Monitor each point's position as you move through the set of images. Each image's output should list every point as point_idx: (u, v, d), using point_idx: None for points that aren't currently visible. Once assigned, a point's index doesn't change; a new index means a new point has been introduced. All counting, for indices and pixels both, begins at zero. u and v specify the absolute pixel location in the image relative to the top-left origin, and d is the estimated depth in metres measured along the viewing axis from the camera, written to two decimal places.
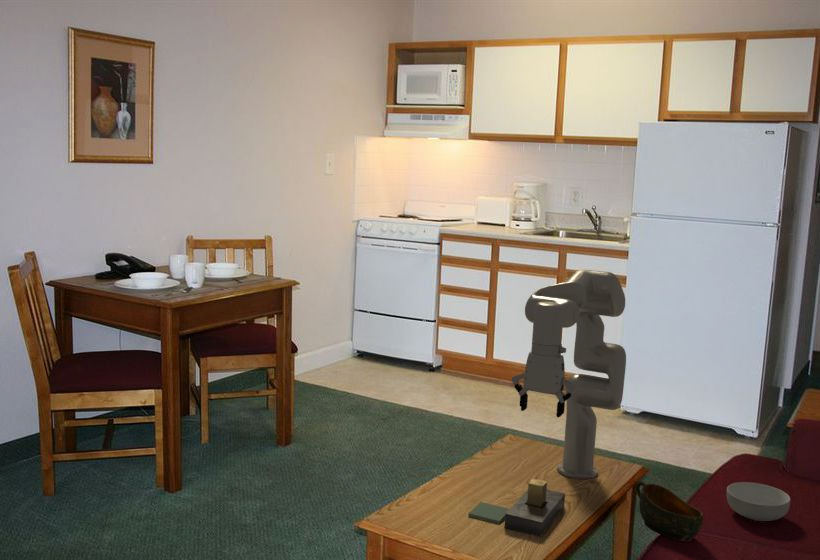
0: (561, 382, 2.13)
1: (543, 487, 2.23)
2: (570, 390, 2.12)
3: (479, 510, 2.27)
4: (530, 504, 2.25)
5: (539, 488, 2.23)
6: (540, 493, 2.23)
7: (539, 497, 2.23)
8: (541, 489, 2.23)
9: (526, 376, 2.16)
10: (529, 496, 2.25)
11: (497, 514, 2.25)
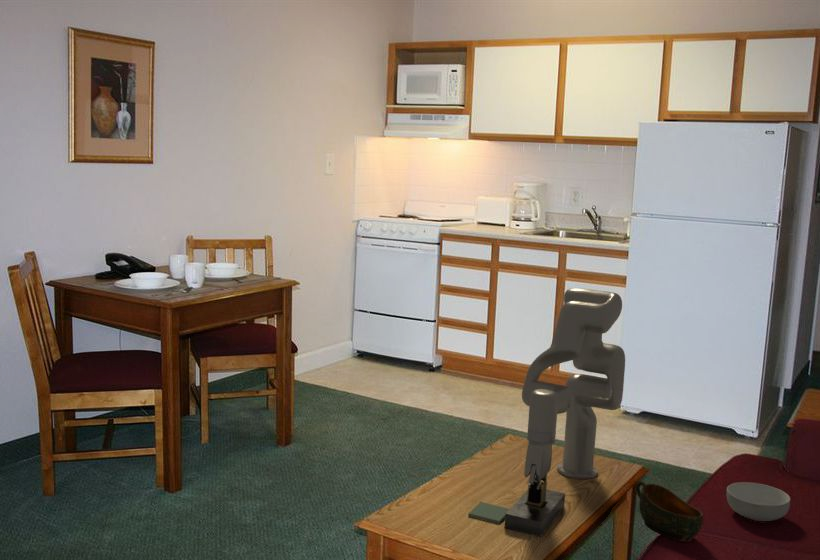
0: None
1: (543, 487, 2.23)
2: None
3: (479, 510, 2.27)
4: (530, 504, 2.25)
5: None
6: None
7: None
8: (541, 489, 2.23)
9: (542, 467, 2.20)
10: None
11: (497, 514, 2.25)
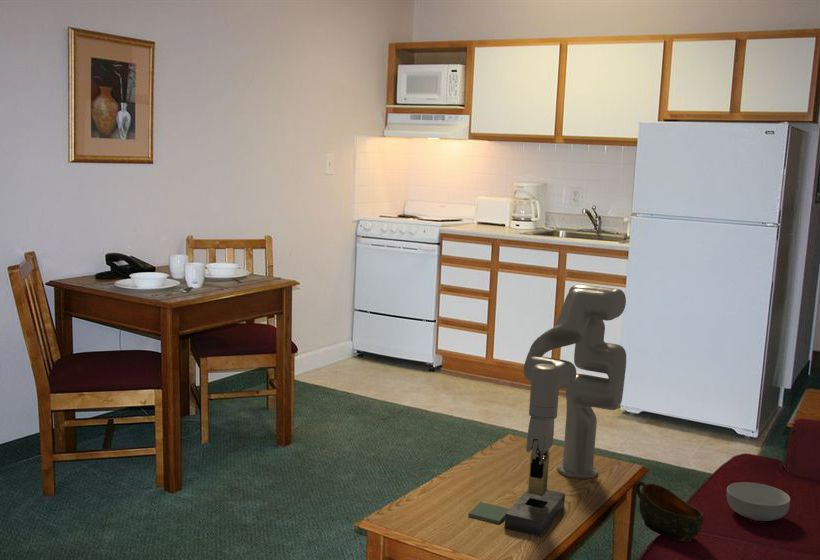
0: None
1: (545, 462, 2.23)
2: None
3: (479, 510, 2.27)
4: (532, 479, 2.24)
5: None
6: None
7: None
8: (543, 464, 2.22)
9: (544, 442, 2.19)
10: None
11: (497, 514, 2.25)
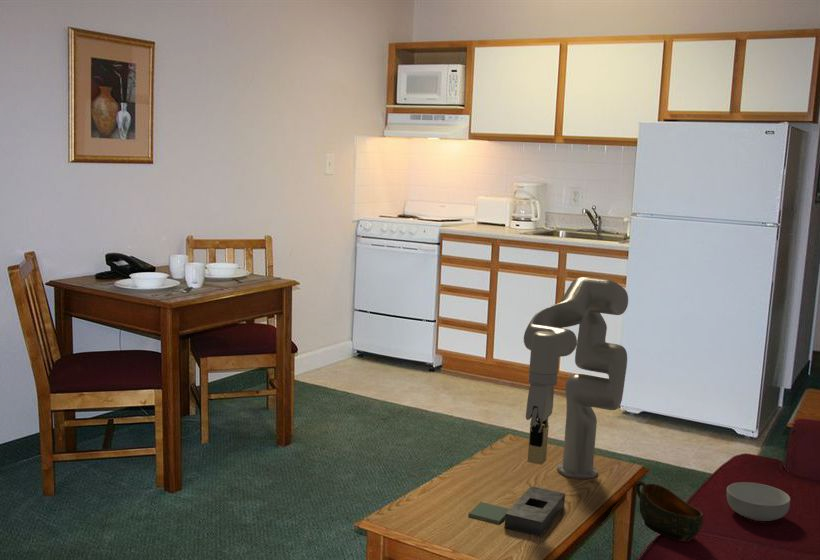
0: None
1: (545, 430, 2.21)
2: None
3: (479, 510, 2.27)
4: (532, 447, 2.22)
5: (541, 431, 2.21)
6: (542, 436, 2.21)
7: None
8: (543, 432, 2.21)
9: (544, 409, 2.17)
10: None
11: (497, 514, 2.25)
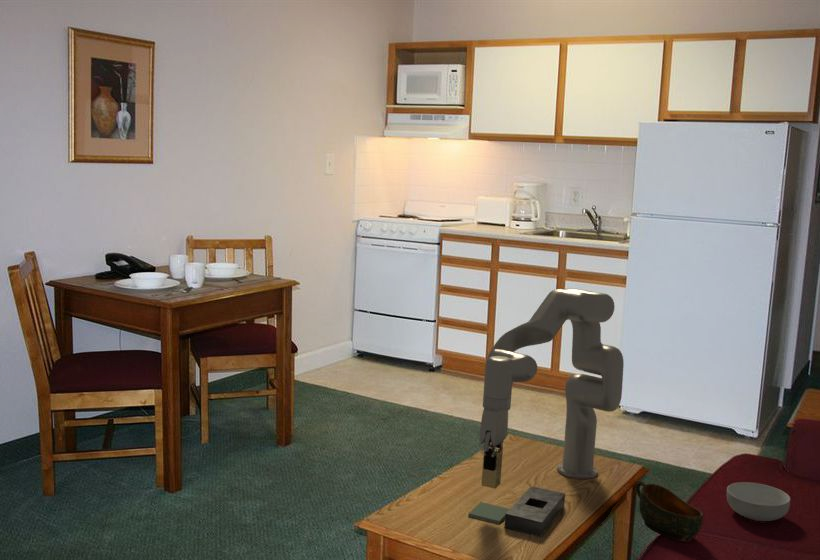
0: None
1: (498, 454, 2.23)
2: None
3: (479, 510, 2.27)
4: (485, 471, 2.24)
5: None
6: None
7: None
8: (496, 456, 2.22)
9: (497, 434, 2.19)
10: None
11: (497, 514, 2.25)
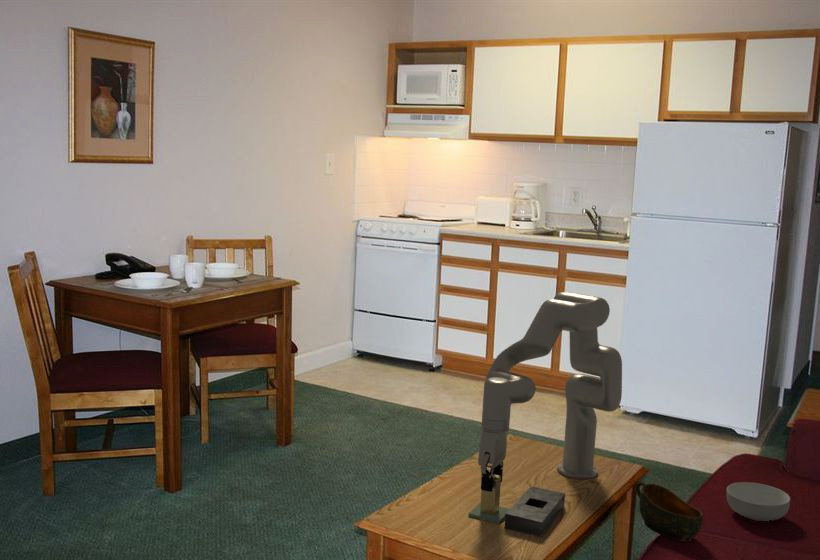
0: None
1: (497, 481, 2.24)
2: None
3: (479, 510, 2.27)
4: (484, 498, 2.25)
5: None
6: (493, 487, 2.23)
7: (493, 491, 2.24)
8: (494, 483, 2.23)
9: (495, 455, 2.20)
10: (483, 490, 2.25)
11: (497, 514, 2.25)
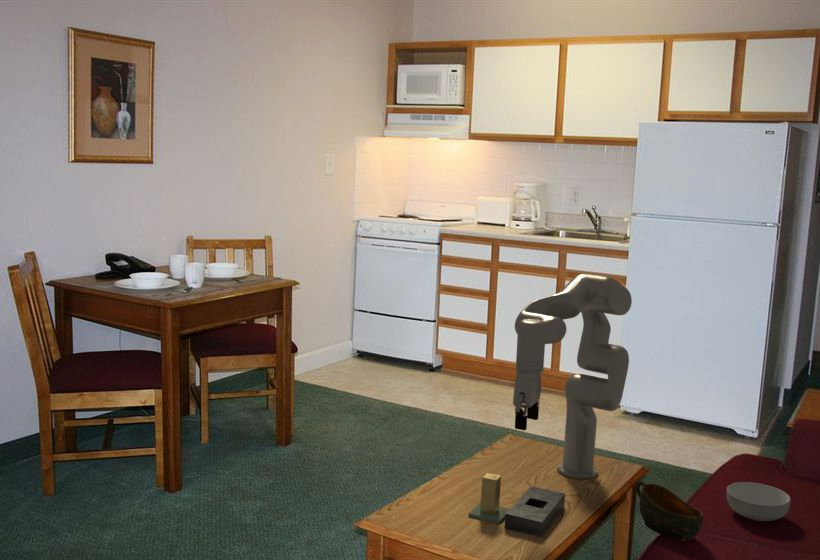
0: None
1: (497, 481, 2.24)
2: None
3: (479, 510, 2.27)
4: (484, 498, 2.25)
5: (492, 482, 2.23)
6: (494, 487, 2.23)
7: (493, 491, 2.24)
8: (495, 483, 2.23)
9: (530, 395, 2.22)
10: (483, 490, 2.25)
11: (497, 514, 2.25)
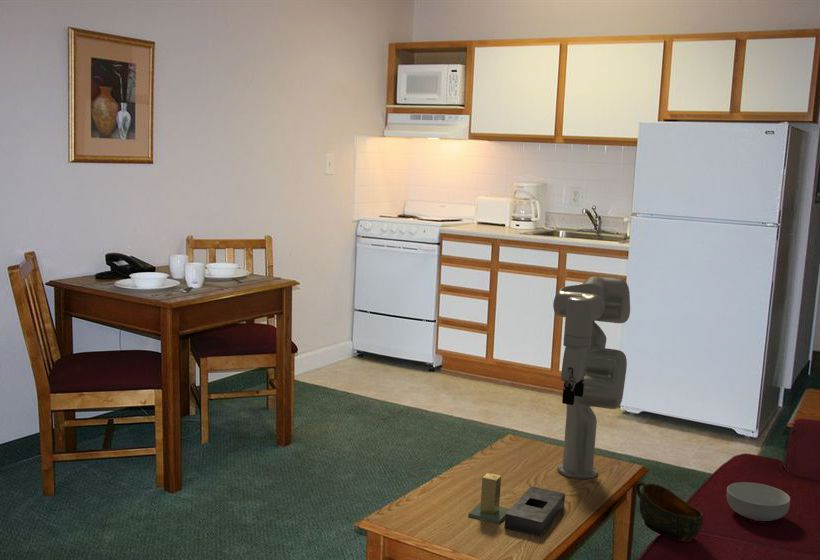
0: None
1: (497, 481, 2.24)
2: None
3: (479, 510, 2.27)
4: (484, 498, 2.25)
5: (492, 482, 2.23)
6: (494, 487, 2.23)
7: (493, 491, 2.24)
8: (495, 483, 2.23)
9: (578, 371, 2.28)
10: (483, 490, 2.25)
11: (497, 514, 2.25)
